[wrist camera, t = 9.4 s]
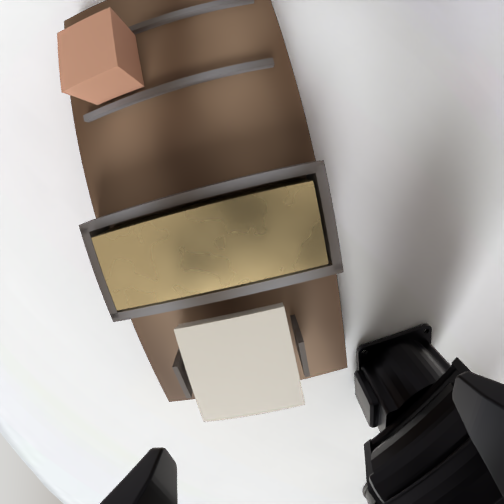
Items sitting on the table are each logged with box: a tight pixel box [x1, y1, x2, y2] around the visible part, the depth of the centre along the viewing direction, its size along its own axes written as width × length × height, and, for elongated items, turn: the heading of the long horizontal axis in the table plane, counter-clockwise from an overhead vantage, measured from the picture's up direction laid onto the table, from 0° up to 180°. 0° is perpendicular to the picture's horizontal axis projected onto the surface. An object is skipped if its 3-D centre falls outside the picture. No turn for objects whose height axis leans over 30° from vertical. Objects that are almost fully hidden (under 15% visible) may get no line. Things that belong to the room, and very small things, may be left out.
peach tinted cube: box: [57, 7, 145, 105], centre depth 12 cm, size 3×4×4 cm
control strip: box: [64, 0, 347, 402], centre depth 16 cm, size 13×28×5 cm, turn 13°
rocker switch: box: [174, 302, 305, 422], centre depth 17 cm, size 6×6×1 cm
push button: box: [91, 179, 328, 310], centre depth 15 cm, size 11×4×2 cm, turn 103°
